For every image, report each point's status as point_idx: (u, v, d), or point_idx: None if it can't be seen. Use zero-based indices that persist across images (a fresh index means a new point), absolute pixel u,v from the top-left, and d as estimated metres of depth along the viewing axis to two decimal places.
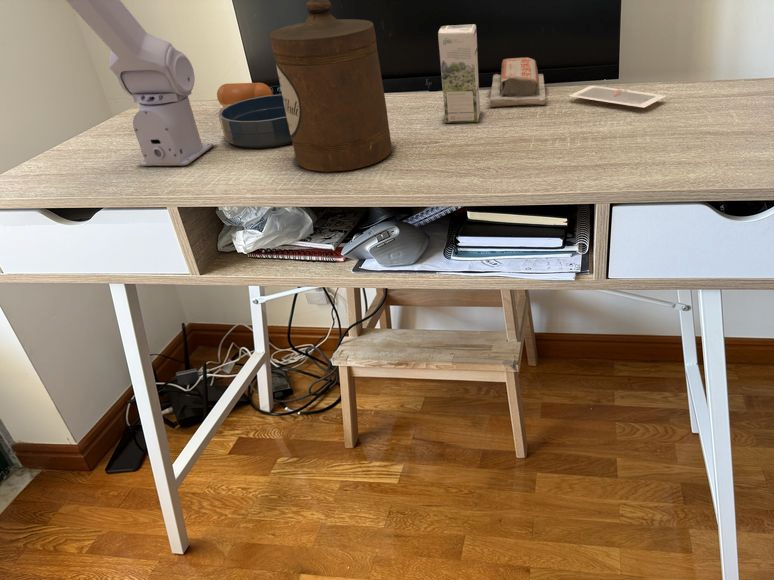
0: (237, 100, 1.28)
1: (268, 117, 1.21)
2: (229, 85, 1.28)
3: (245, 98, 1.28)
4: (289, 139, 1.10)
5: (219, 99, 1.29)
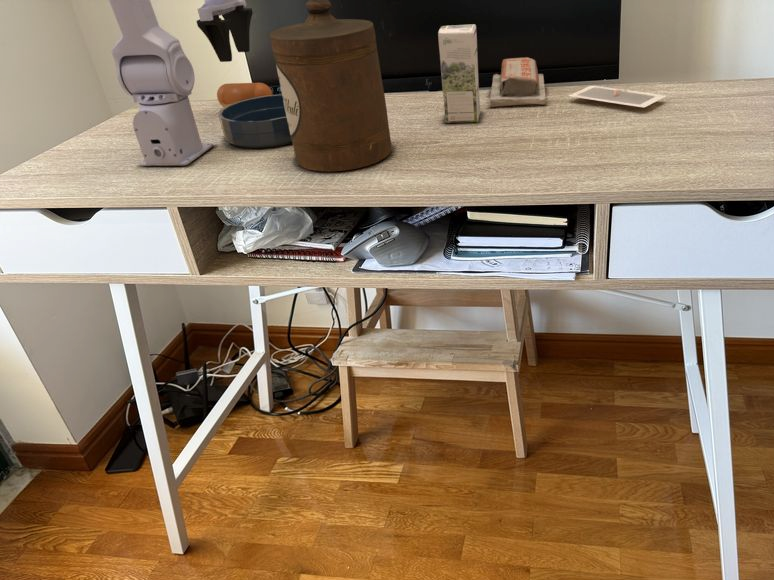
0: (237, 100, 1.28)
1: (268, 117, 1.21)
2: (229, 85, 1.28)
3: (245, 98, 1.28)
4: (289, 139, 1.10)
5: (219, 99, 1.29)
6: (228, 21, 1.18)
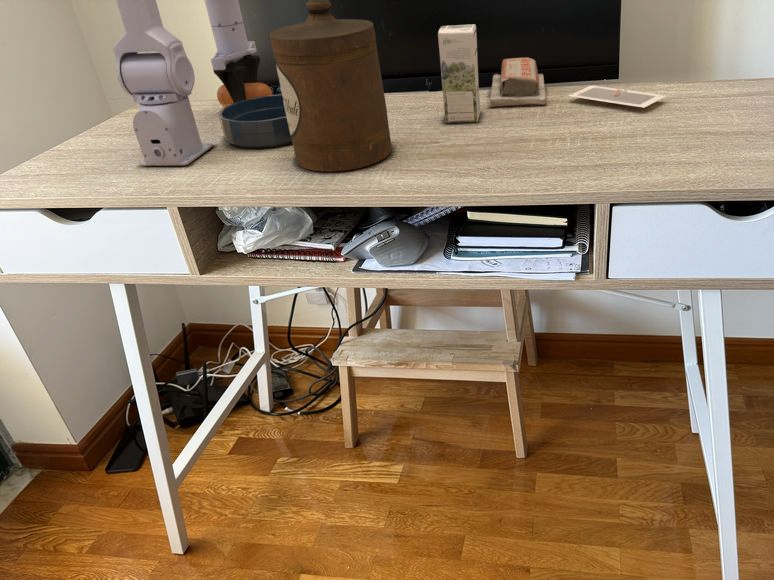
0: None
1: (268, 117, 1.21)
2: None
3: None
4: (289, 139, 1.10)
5: (219, 99, 1.29)
6: (243, 68, 1.23)
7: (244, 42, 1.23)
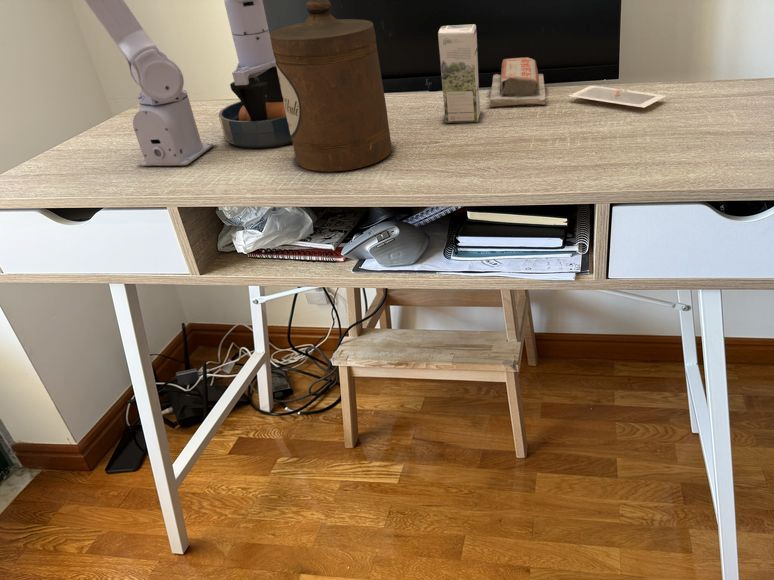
0: None
1: None
2: None
3: None
4: (289, 139, 1.10)
5: (241, 120, 1.14)
6: (265, 84, 1.07)
7: (270, 53, 1.08)
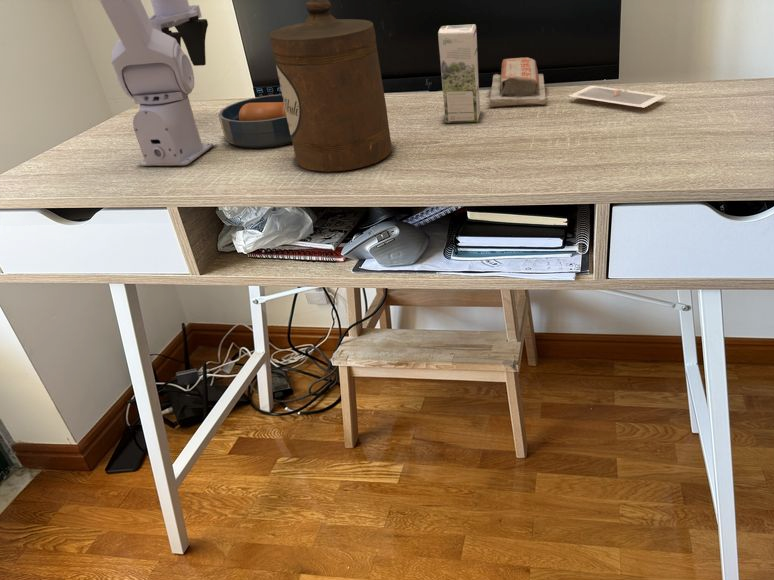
0: None
1: None
2: (253, 105, 1.13)
3: None
4: (289, 139, 1.10)
5: (241, 120, 1.14)
6: (178, 34, 1.10)
7: (184, 4, 1.11)
